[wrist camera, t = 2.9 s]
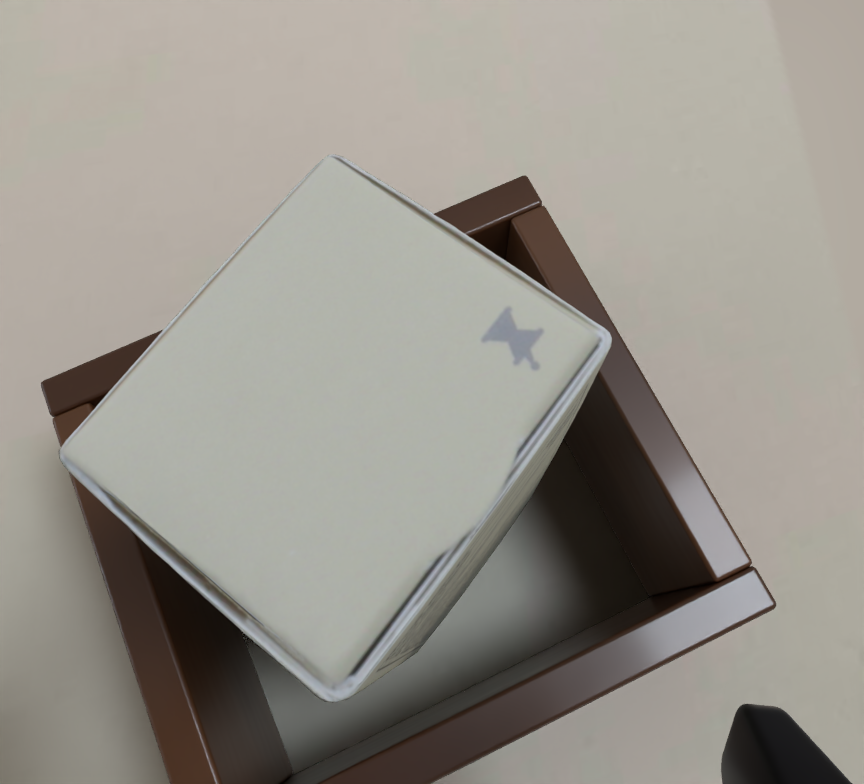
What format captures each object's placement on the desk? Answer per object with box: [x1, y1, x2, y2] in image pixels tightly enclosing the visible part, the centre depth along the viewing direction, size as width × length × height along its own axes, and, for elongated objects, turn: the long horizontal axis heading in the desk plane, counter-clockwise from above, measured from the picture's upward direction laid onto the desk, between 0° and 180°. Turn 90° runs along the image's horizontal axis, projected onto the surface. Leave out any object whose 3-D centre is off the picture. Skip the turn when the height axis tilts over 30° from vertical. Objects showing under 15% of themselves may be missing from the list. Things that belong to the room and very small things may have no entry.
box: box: [59, 154, 612, 703], centre depth 14 cm, size 5×4×11 cm
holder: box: [41, 176, 776, 784], centre depth 17 cm, size 10×11×5 cm
